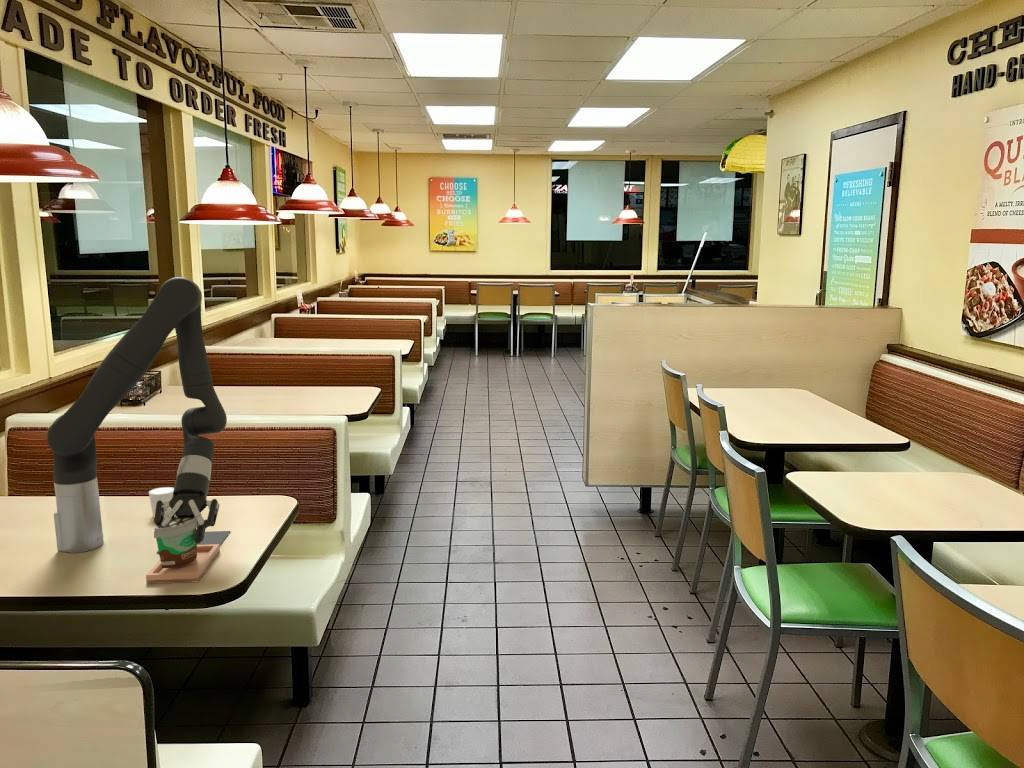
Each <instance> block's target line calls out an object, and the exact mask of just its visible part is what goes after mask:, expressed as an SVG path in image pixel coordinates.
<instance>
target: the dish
mask: <svg viewBox="0 0 1024 768" xmlns="http://www.w3.org/2000/svg"><path fill="white" fill-rule="evenodd" d="M220 547H221V546H220ZM220 547H219V544H210V545H197V558H196V559H195V560H194V561H193V562H191V563H189V564H186V565H183V566H179V567H175V568H162V565H161V560H160V559H159V560H158V561H157V562H156V564H155V565H154V566H153V567H152V568H151V569H150V570H149V571H148V572H147V573H146V575H145V580H146V581H145V582H146V584H147V583H149V584H151V583H154V584H173V583H174V582H175V583H177V582H180V583H193V582H192V581H198V582H199V581H200V580H201V579H202V577H203V576H204V574H205V573H206V572H207V570H208V569H209V568H210V566H211V565H212V563H213V562H214V561H215V560H216V558H217V557H218V556H219V554H220V553H221V550H220ZM205 571H206V572H205ZM204 572H205V573H204ZM202 575H203V576H202ZM200 578H201V579H200ZM199 579H200V580H199ZM168 582H169V583H168ZM171 582H173V583H171ZM175 583H174V584H175ZM149 584H148V585H149Z"/></svg>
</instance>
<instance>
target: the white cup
mask: <svg viewBox="0 0 1024 768" xmlns="http://www.w3.org/2000/svg"><path fill="white" fill-rule="evenodd" d="M173 491H174V486H162V487H156V488H153V489H150V490H149V491H148V497H149V500H150V508H151V512H152V516H153V517H154V516H155V511H156V504H157V501H159V500H161V501H162V502H170V500H171V499H172V497H173ZM171 510H172V509H171V507H168V509H167V511H166V512H164V517H165V518H166V517H167V515H168V513H169V512H170V511H171Z"/></svg>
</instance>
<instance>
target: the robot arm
mask: <svg viewBox="0 0 1024 768" xmlns="http://www.w3.org/2000/svg"><path fill="white" fill-rule="evenodd" d="M202 300H203V295H202V291H201V288H200V287H199V286H198V284H197V283H195V282H194V280H192V279H189V278H187V277H182V276H175V277H171V278H169V279H167V280H166V281H164V282H163V283H162V285H161V286H160V288H159V289H158V291H157V292H156V295H155V296H154V298H153V299H152V301H151V303H150V304H149V306H148V307H147V309H146V310H145V312H144V313H143V314H142V316H141V317H140V318H139V319H138V321H137V322H136V323H134V325H132V327H130V328H129V330H128V331H127V332H126V333H125V334H124V335H123V336H122V337H121V338H120V339H119V340H118V341H117V343H116V344H115V345H114V346H113V348H112V349H111V350H110V351H109V352H108V353H107V354H106V356H105V357H104V359H103V360H102V361H101V363H100V364H99V365H98V367H97V369H96V370H95V371H94V373H93V375H92V376H91V378H90V379H89V381H88V383H87V384H86V386H85V388H84V390H83V391H82V393H81V395H79V397H78V398H77V399H76V401H75V402H74V403H73V404H72V405H71V406H70V407H69V408H68V409H67V410H66V411H65V412H64V414H62V415H60V416H58V417H57V418H55V420H54V421H53V422H52V423H51V424H50V426H49V428H48V430H47V434H46V441H47V445H48V447H49V449H50V450H51V452H53V453H52V454H53V469H52V474H53V475H52V477H53V485H54V492H55V493H54V494H55V502H56V510H57V511H55V512H54V513H53V522H54V529H55V530H54V531H55V539H56V546H57V547H56V548H57V551H58V552H59V551H60V552H63V553H68V554H69V553H71V554H72V553H73V554H74V553H84V552H86V551H87V552H88V551H92V550H94V549H97V548H99V547H101V546H102V545H103V544H104V533H103V532H104V531H103V523H102V522H103V521H102V512H101V503H100V494H99V484H98V483H99V482H98V473H97V471H98V470H97V468H98V467H97V464H98V463H97V462H98V459H97V458H98V457H97V447H96V436H95V435H96V433H97V431H98V430H99V427H100V426H101V425H102V423H103V422H104V420H105V419H106V418H107V416H108V415H109V413H111V411H112V410H113V409H114V408H115V407H116V406H117V405H118V404H119V403H120V402H121V401H122V400H123V399H124V398H125V397H126V396H128V394H129V393H130V392H131V391H132V390H133V388H134V387H136V385H137V384H138V383H139V382H140V380H141V379H142V378H143V377H144V376H145V374H146V373H147V372H148V371H149V369H150V368H151V366H152V364H153V363H154V362H155V360H156V358H157V356H158V355H159V352H161V349H162V347H163V345H164V344H165V342H166V340H167V338H168V336H169V335H170V334H171V333H172V332H173V331H174V330H175V334H176V341H177V343H176V344H177V354H178V355H177V356H178V366H179V367H178V368H179V374H180V380H181V384H182V390H183V394H184V396H185V397H186V398H187V399H193V400H194V399H195V400H199V401H201V402H202V404H203V405H204V406H199V407H191V408H188V409H186V410H185V411H184V412H183V414H182V417H181V427H182V439H183V448H182V452H181V453H182V454H181V459H180V461H179V464H178V468H177V474H176V476H175V482H174V486H173V488H174V491H173V497H172V499H171V500H170V502H162V501H161V500H159V501H157V504H156V511H155V517H153V518H154V519H153V520H154V521H153V523H154V525H155V526H156V528H163V527H164V526H165V525H166V524H167V523H169V522H170V521H171V520H174V519H177V518H184V517H194V516H195V517H196V519H197V521H198V523H199V525H198V526H197V527H196V535H195V542H196V544H200V543H201V541H203V540H204V534H205V532H206V529H207V528H208V527H215V525H216V522H217V517H218V512H219V510H220V503H219V501H218V500H217V499H216V498H212V499H211V500H207V497H208V493H209V487H210V483H211V482H210V481H211V477H212V474H211V473H212V461H213V457H214V454H215V453H214V451H215V444H214V442H213V441H212V440H211V439H209V438H208V437H205V436H202V435H210V434H218V433H221V432H222V431H224V430H225V429H226V425H227V421H228V417H227V414H226V413H227V412H226V411H225V409H224V407H223V404H222V403H221V401H220V400H219V399H220V398H219V397H218V395H217V392H216V390H215V386H214V384H213V379H212V373H211V367H210V362H209V358H208V354H207V349H206V344H205V338H204V333H203V325H202ZM168 507H171V509H172V510H171V511H170V512H169V513H168V515H167V517H165V518H164V512H166V511H167V509H168ZM207 507H208V509H209V511H208V514H207V519H204V517H203V515H202V512H203V511H204V510H205V509H206V508H207Z"/></svg>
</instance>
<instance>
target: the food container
mask: <svg viewBox="0 0 1024 768" xmlns="http://www.w3.org/2000/svg"><path fill="white" fill-rule="evenodd" d="M197 526H199V523H198V521H197V519H196V517H195V516H194V517H184V518H177V519H174V520H171V521H170V522H169V523H167V524H166V525H165V526H164V527H163V528H158V527H154V531H153V538H155V539H156V544H157V549H158V550H159V553H158V555H159V560H161V565H162V568H175V567H179V566H183V565H186V564H189V563H191V562H193V561H194V560H195V559H196V558H197V544H196V542H195V535H196V530H197ZM158 550H157V551H158Z"/></svg>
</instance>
